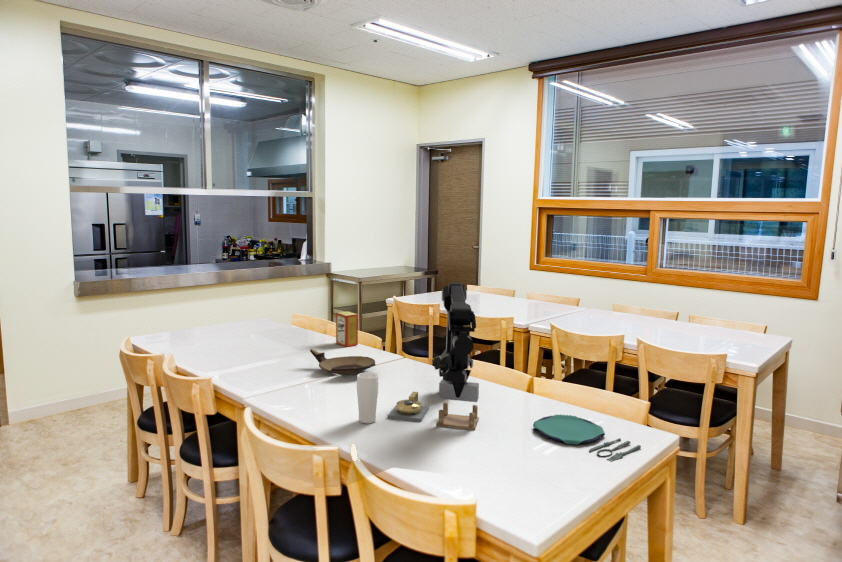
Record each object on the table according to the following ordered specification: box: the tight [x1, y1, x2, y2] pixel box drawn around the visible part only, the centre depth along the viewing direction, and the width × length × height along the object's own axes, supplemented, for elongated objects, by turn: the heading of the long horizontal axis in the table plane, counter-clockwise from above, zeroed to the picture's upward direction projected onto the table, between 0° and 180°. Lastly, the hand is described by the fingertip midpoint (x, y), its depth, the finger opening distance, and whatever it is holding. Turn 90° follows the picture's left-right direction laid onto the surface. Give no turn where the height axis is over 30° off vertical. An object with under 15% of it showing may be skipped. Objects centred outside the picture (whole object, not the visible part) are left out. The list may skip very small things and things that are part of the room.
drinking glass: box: [356, 371, 379, 425], centre depth 175 cm, size 7×7×15 cm
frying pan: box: [309, 348, 376, 376], centre depth 229 cm, size 22×30×8 cm
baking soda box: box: [335, 310, 359, 348], centre depth 273 cm, size 10×6×16 cm
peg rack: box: [436, 401, 480, 431], centre depth 176 cm, size 9×12×5 cm
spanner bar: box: [438, 379, 480, 403], centre depth 175 cm, size 12×4×5 cm, turn 77°
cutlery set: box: [532, 414, 642, 462], centre depth 166 cm, size 20×30×2 cm, turn 36°
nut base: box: [387, 404, 430, 423], centre depth 183 cm, size 11×11×1 cm
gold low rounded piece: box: [396, 391, 422, 415], centre depth 185 cm, size 14×8×3 cm, turn 167°
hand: (458, 395), depth 175 cm, fingers closed on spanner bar, 4 cm apart
